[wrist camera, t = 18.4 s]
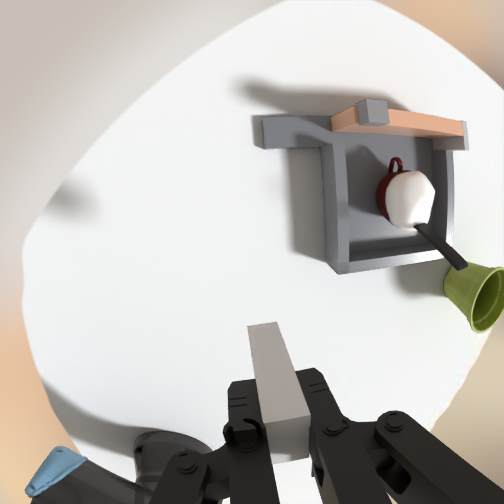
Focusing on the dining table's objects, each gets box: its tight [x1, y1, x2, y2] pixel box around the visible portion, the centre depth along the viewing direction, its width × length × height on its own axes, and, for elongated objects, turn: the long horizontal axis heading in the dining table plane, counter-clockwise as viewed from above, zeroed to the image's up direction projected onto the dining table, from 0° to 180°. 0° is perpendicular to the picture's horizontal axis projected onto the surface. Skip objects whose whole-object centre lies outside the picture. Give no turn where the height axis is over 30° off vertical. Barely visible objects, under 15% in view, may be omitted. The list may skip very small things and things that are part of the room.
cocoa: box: [376, 157, 468, 271], centre depth 23 cm, size 10×6×12 cm, turn 172°
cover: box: [331, 99, 463, 139], centre depth 23 cm, size 14×2×8 cm, turn 95°
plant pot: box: [444, 262, 504, 333], centre depth 30 cm, size 9×9×9 cm
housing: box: [262, 116, 469, 275], centre depth 26 cm, size 22×16×7 cm
